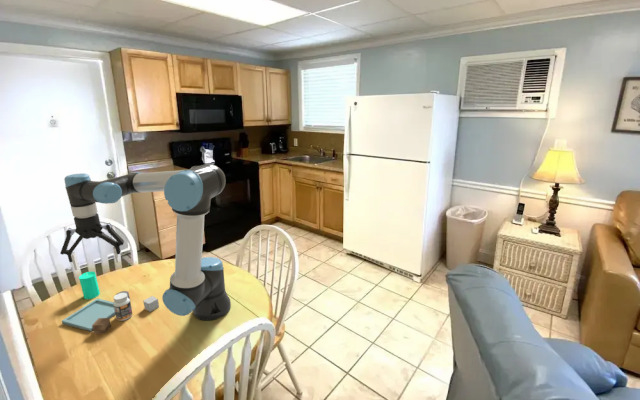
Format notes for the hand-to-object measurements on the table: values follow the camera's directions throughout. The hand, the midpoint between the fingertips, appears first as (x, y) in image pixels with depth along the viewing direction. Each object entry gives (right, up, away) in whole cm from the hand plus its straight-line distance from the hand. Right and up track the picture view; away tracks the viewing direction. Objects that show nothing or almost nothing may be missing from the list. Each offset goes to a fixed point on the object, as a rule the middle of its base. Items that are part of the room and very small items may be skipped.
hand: (97, 264), depth 123 cm
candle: (-14, -17, +17) cm, 28 cm away
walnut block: (+5, -24, -4) cm, 25 cm away
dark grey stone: (+1, -19, +14) cm, 23 cm away
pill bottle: (+9, -22, +3) cm, 24 cm away
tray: (-4, -22, +4) cm, 22 cm away
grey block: (+17, -20, +9) cm, 28 cm away
